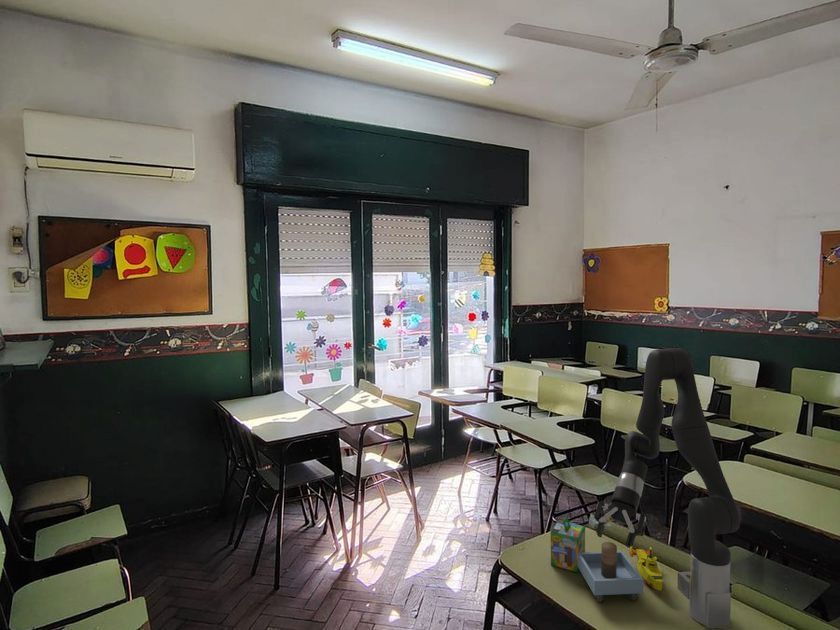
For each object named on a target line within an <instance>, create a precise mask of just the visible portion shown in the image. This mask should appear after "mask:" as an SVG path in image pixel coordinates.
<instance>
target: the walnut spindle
mask: <svg viewBox="0 0 840 630" xmlns="http://www.w3.org/2000/svg"><path fill="white" fill-rule="evenodd" d="M617 551H618V546H617V545H616V544H615V543H613V542H611V541H604V542H602V543H601V552H602V553H601V574H602V576H603V577H605V578H607V579H615V578H616V571H617Z"/></svg>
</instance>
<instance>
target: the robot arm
mask: <svg viewBox="0 0 840 630" xmlns="http://www.w3.org/2000/svg"><path fill="white" fill-rule="evenodd" d="M669 380H672V381H673V380H674V382H675V385H676V390H677V400H676V401H677V402H676V405H675V408H674V412H673V414H672V415H673V416H672V419H671V424H670V425H671V431H672V435H673V438H674V441H675V442H674V443H675V444H676V447H677V450H678V451H679V453H680V455H681V456H682V457H683V459H685V461H686V462H688V464H689V465H690V466H691V467H692V468H693V469H694V470H695V471H696V472H697V473H698V475H699V476H700V478H701V480H702V481H703V483H704V486H705V488H706V491H707V493H708V496H705V497H697V498H693V499H691V500H690V502H689V504H688V506H687V507H688V508H687V529H688V531H687V532H688V540H689V546H690V565H689V567H690V568H689V569H690V592H689V599H688V612H689V614H690V616H691V617H692V618H693V620H694V621H696V622H698V623H699V624H701V625H703V626H705V628H707V629H726V628H729V629H730V628H731V611H732V610H731V609H732V608H731V607H732V605H731V603H732V593H731V592H730V584H731V583H730V581H731V558H732V557H731V556H732V554H731V553H732V552H731V550H730V549H729V547H728V546H726V545H725V544H724V543H722V542H721V541H719V540H716V537H715V536H716V535H722V534H723V535H724V534H730V533H735V532H737V531H738V530H740V529H739V528H740V526H741V518H740V513H739V509H738V506H737V504H736V502H735V500H734V498H733V494H732V492H731V490H730V487H729V484H728V482H727V480H726V478H725V476H724V473H723V470H722V467H721V464H720V460H719V458H718V454H717V452H716V449H715V446H714V442H713V437H712V435H711V431H710V429H709V425H708V422H707V419H706V417H705V412H704V410H703V406H702V403H701V399H700V395H699V392H698V387H697V381H696V377H695V372H694V367H693V363H692V360H691V357H690V356H689V353H688V351H686V350H685V349H683V348H682V347H681V348H679V347H677V348H676V347H675V348H674V347H673V348H671V347H670V348H657V349H653V350H650V352H649V354H648V355H647V358H646V362H645V368H644V380H643V391H642V392H643V393H642V399H641V400H642V401H641V404H640V409H639V411H638V412H639V413H638V414H637V415H638V416H637V419H636V423H635V427H636V429H637V430H638V431H639V432H638V431H635V430H632V431H629V432H628V433H627V434H626V436H625V437H624V438H625V439H624V460H623V465H622V469H621V471H620V475H619V477H618V479H617V482H616V484H615V488H614V491H613V494H612V497H611V500H610V503H609V504H608V503H606V502H604V501H603V500H600V501H599V502H598V504H597V508H596V510H595V513H594V515H593V518H594V519H595V521H596V522H598V524H597V527H596V530H595V532H596V535H597V537H598V538H602V536H603V533H604V530H605V527H606V525H608V523H612V522H613V521H614V523H620V524H621V525H624V526H625V525H627V526H628V528H629V529H628V530H629V532H628V535H627V538H626V542H625V546H626V547H627V548H629V549H630V546H632V547H633V546H634V542H635V539H636V537H637V536H638V537H643V536H644V533H645V530H646V529H645V528H646V523H647V517H646V515H645V514H644V513H637V511H638V508H639V504H640V500H641V498H642V495H643V490H644V483H645V479H646V477H647V473H648V465H647V464H646V463H645V462H644V461H642V460H641V459H639V458H638V457H636V455H637V456H639V457H643V458H645V459H648V460H654V459H655V458H657V457H658V456H659V454H660V451H661V449H660V448H661V445H660V444H661V443H660V431H661V427H662V425H663V424H662V423H663V421H664V418H665V406H664V402H663V400H662V398H661V395H660V391H659V390H660V386H661V384H662V382H663V381H669ZM607 509H608V512H606V513H605V514H604V512H605V511H607ZM603 514H604V516H603ZM635 519H637V520H638V521H637V522H638V525H637V529H635V527H634V525H633V521H634V520H635Z"/></svg>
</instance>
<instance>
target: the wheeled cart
mask: <svg viewBox="0 0 840 630" xmlns="http://www.w3.org/2000/svg"><path fill="white" fill-rule="evenodd" d="M601 553H602V551H592V552H591V551H589V552H588V551H587V552H586V551H585V552H583V553H577V566H578V568H579V569H580V573H581V575H582V576H583V579H584V581H585V582H586V583H587V585H588V587H589V588H590V590H591V593H593V595H594V596H595V599H596V601H597V602H600V603H601V602H604V596H609V595H628V596H627V597H628V599H629V600H630V601H637V599H638V598H637V597H638V595H637V594H644V586H645V584H644V583H645V581H644V579H643V578H642V576H641V575H640V573H639V571H638V569H637V567H635V566H634V564H633V563H632V561H630V559H629V558H628V556H627V555H626V554H625V552H623V550H617V571H616V578H615V579H607V578H605V577H603V576H602V574H601Z"/></svg>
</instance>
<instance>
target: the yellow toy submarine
mask: <svg viewBox="0 0 840 630" xmlns="http://www.w3.org/2000/svg"><path fill="white" fill-rule="evenodd" d="M648 548H649V549H648ZM648 548H644V547H641V546H639V549H638V548H636V549H635V550H634V548H633V546H630V548H629V556H630V557H634V556H636V558H637V563H636V565H637V566H636V569H637V571H638V572H639V574H640V575H641V576H642V578H643V579H644V583H646V584H647V585H649V586H650V587H651V588H653V590H656V591H662V589H663V585H664V577H663V576H664V575H663V574H662V572H661V570H660V568H659V567H658V564H657V562H656V561H657V560H658V558H657V556H654V551H653V548H652V547H651V546H650V547H648Z"/></svg>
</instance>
